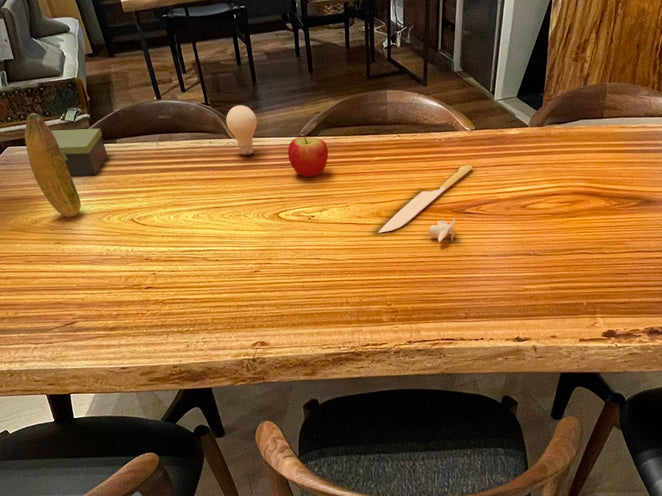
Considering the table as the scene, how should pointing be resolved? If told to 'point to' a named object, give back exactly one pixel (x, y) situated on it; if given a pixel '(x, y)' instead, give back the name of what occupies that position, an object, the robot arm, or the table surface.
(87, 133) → the block
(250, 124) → the light bulb
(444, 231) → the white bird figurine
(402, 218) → the knife
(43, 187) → the vegetable
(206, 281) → the table surface
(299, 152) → the apple
